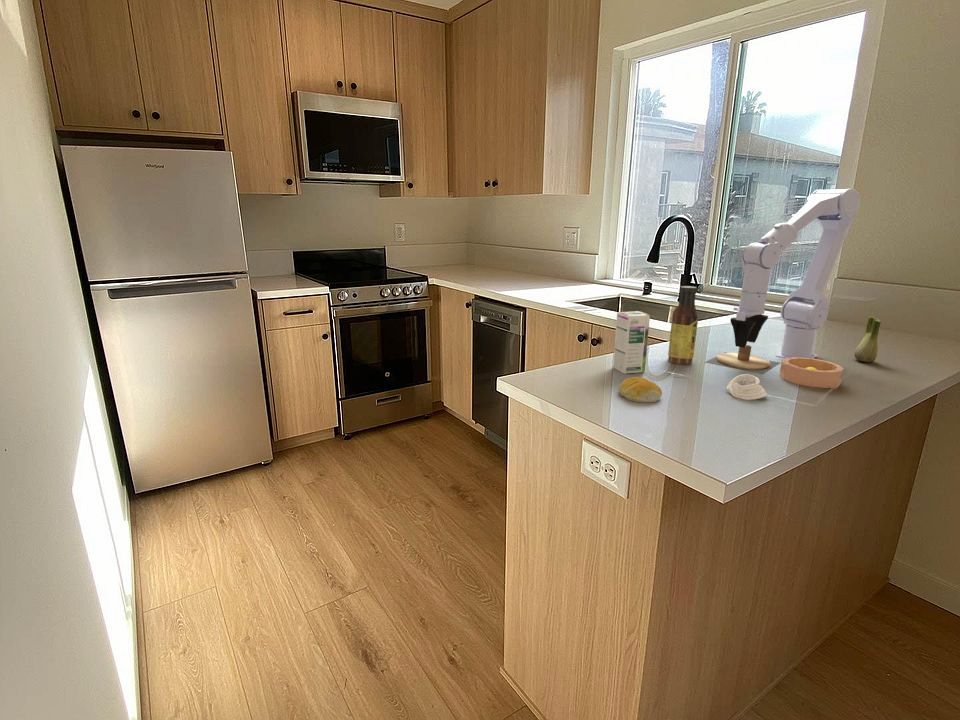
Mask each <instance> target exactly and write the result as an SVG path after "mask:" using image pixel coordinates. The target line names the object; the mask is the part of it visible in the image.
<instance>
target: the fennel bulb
mask: <svg viewBox="0 0 960 720" xmlns="http://www.w3.org/2000/svg"><path fill="white" fill-rule="evenodd" d="M881 322H882V321H881V320H880V319H878V318H875V317H874V316H868V318H867V323H866V327H865V331H864V335H863V337H862V339H861V340H860V343H859V344H858V345H857V346H856V348H855V350H854V355H853V356H854V358H855V359H856V360H857V361H859V362H865V363H872V362H875V360H876V359H877V357H878V334H879V330H880V327H881V324H882V323H881Z"/></svg>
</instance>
